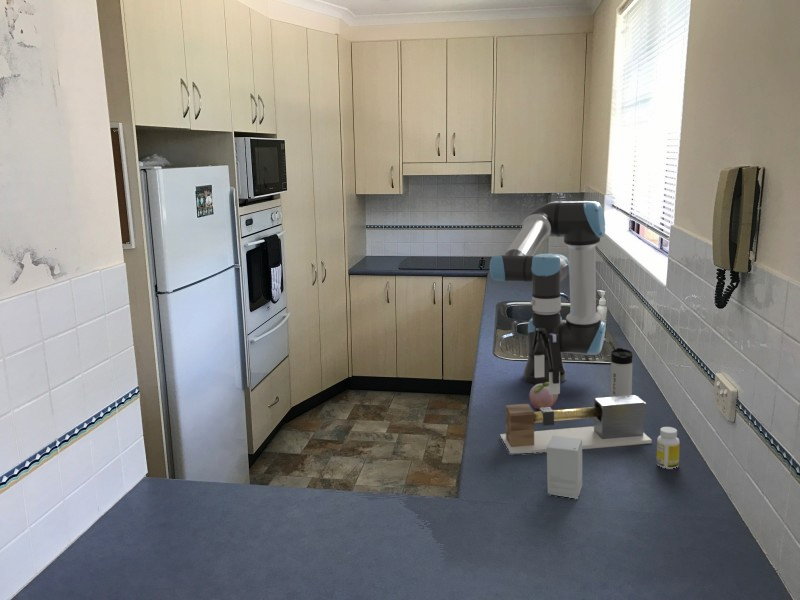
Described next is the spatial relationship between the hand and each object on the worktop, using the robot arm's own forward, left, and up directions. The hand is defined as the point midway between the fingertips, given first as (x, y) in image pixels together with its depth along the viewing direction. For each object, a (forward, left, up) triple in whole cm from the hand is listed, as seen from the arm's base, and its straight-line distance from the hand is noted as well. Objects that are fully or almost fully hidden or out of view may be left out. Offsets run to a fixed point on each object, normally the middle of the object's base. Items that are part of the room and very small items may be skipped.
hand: (546, 385), depth 182 cm
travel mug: (-17, +29, -17) cm, 38 cm away
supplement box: (+27, -4, -17) cm, 33 cm away
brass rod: (0, +3, -11) cm, 12 cm away
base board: (0, +8, -17) cm, 19 cm away
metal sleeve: (0, +21, -16) cm, 27 cm away
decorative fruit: (-23, +6, -17) cm, 29 cm away
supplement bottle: (+19, +26, -17) cm, 37 cm away
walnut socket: (0, -8, -17) cm, 19 cm away
